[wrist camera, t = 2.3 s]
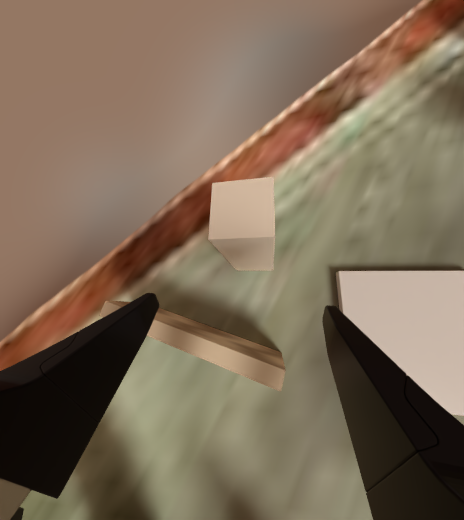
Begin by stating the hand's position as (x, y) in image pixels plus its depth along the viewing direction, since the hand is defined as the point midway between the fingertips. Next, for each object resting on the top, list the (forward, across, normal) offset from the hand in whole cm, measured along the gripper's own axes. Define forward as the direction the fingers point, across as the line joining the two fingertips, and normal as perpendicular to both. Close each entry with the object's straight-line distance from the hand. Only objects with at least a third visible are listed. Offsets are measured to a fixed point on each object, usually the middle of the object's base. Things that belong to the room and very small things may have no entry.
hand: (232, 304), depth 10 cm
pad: (+8, -15, +10) cm, 20 cm away
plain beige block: (+13, 0, +4) cm, 14 cm away
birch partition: (+6, +6, +11) cm, 14 cm away
